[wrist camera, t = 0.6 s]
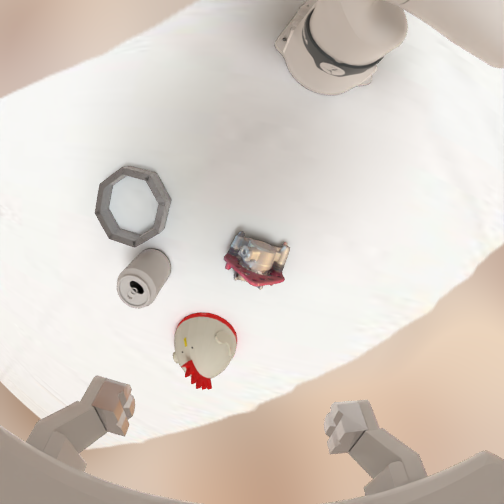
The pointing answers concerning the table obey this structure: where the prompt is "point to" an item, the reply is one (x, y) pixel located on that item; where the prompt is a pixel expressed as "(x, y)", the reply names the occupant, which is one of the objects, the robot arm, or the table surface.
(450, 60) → the table surface
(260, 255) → the brake caliper
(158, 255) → the can
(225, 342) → the kitchen timer
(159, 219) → the steel ring
